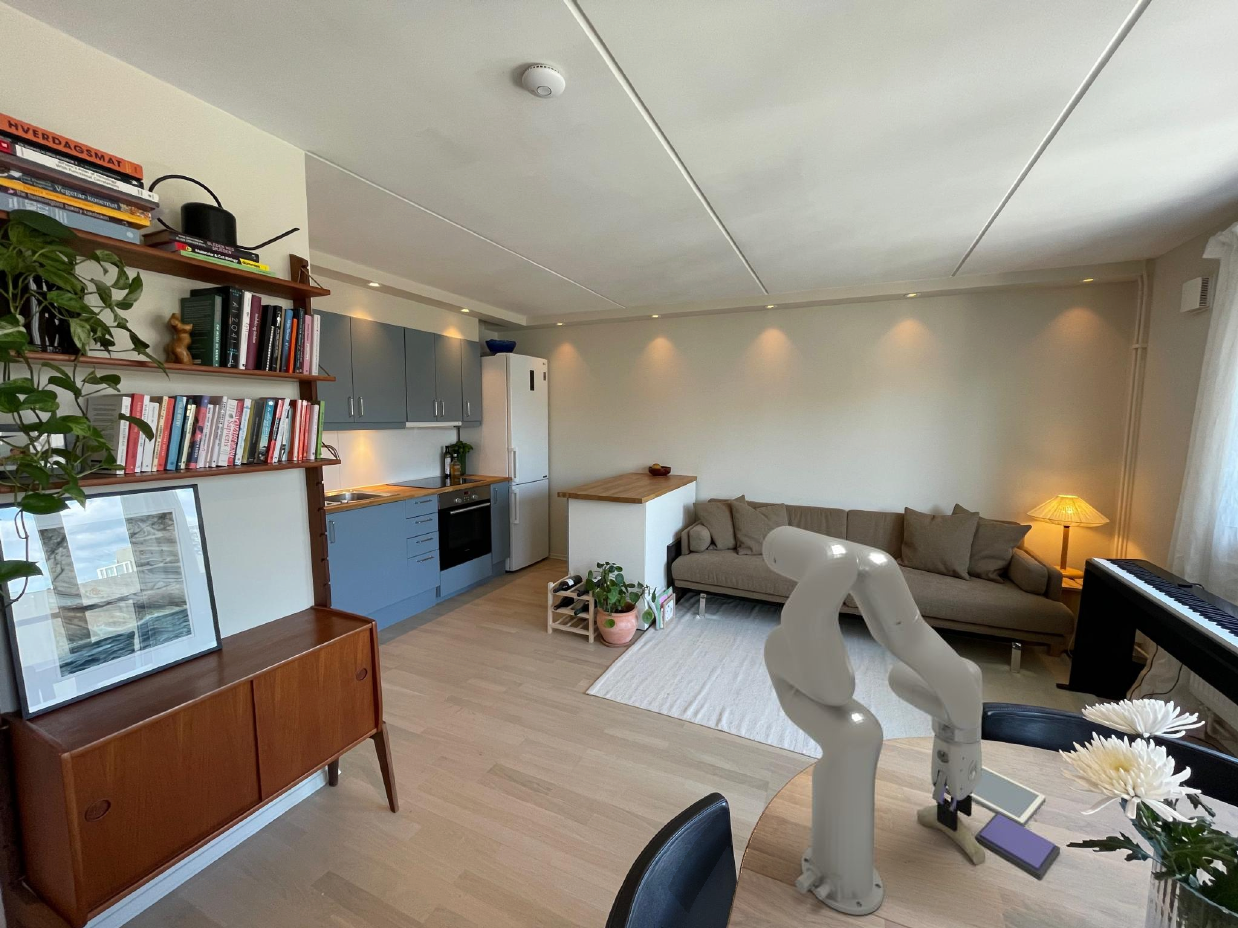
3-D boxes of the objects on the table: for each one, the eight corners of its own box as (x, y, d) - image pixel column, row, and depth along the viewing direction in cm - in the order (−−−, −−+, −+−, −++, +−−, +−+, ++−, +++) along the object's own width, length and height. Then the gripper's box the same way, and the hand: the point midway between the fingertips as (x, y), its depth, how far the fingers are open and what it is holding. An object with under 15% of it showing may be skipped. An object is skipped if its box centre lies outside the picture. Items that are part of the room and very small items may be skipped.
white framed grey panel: (1022, 827, 93) (1022, 822, 93) (951, 789, 103) (952, 784, 103) (1045, 800, 99) (1045, 795, 99) (976, 767, 109) (977, 762, 109)
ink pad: (1040, 880, 82) (1040, 871, 82) (974, 840, 90) (975, 833, 90) (1059, 852, 87) (1060, 844, 87) (996, 817, 95) (996, 810, 95)
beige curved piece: (913, 822, 95) (914, 798, 95) (935, 812, 98) (936, 789, 97) (975, 869, 85) (976, 843, 84) (997, 857, 87) (998, 831, 87)
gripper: (957, 755, 82) (955, 856, 84) (999, 718, 92) (997, 810, 93) (910, 732, 89) (909, 827, 90) (954, 700, 98) (953, 786, 99)
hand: (954, 817), depth 92 cm, fingers open, 4 cm apart
